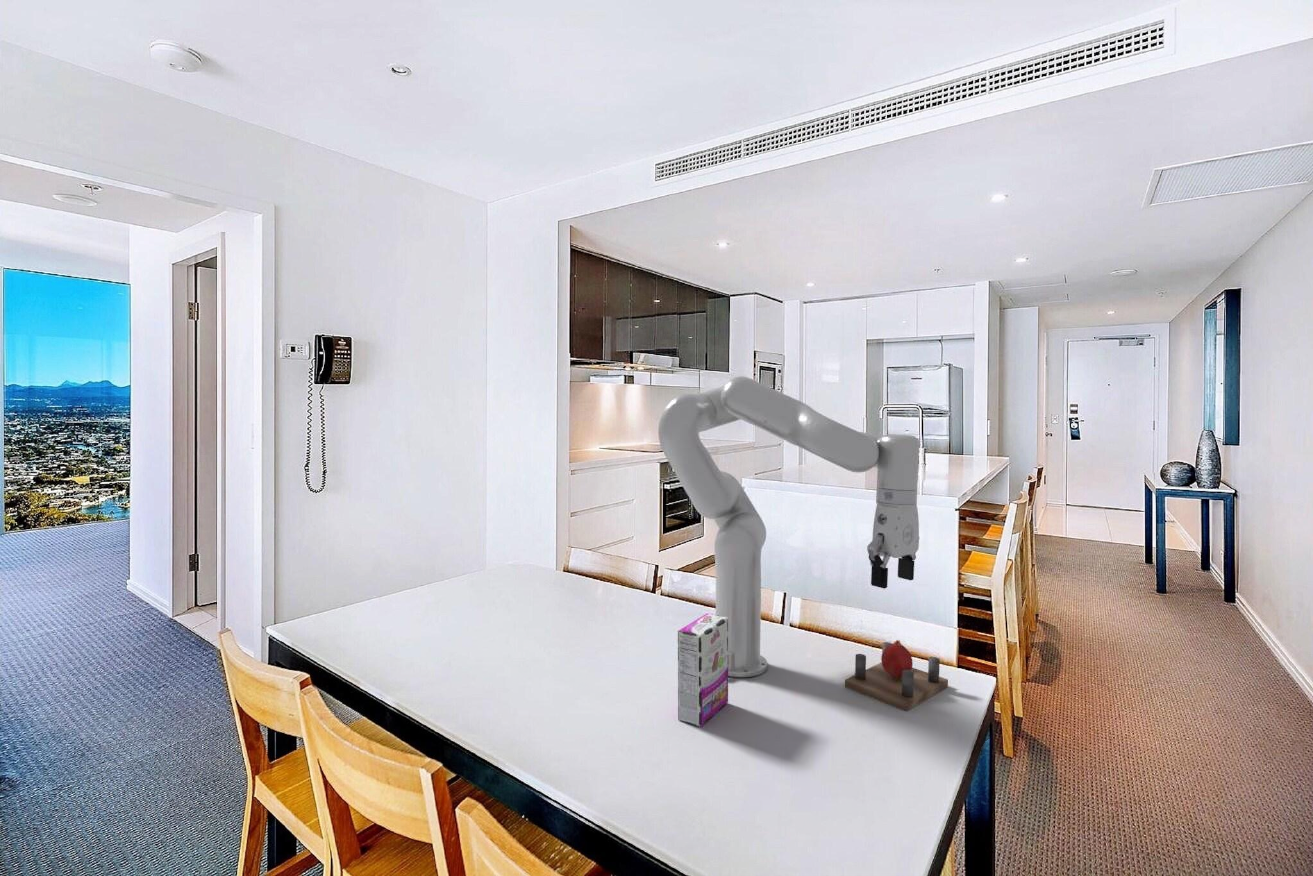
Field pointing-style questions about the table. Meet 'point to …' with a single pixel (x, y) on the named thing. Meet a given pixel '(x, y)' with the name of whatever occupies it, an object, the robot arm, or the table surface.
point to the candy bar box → (702, 669)
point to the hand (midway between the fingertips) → (892, 582)
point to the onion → (896, 660)
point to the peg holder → (896, 682)
